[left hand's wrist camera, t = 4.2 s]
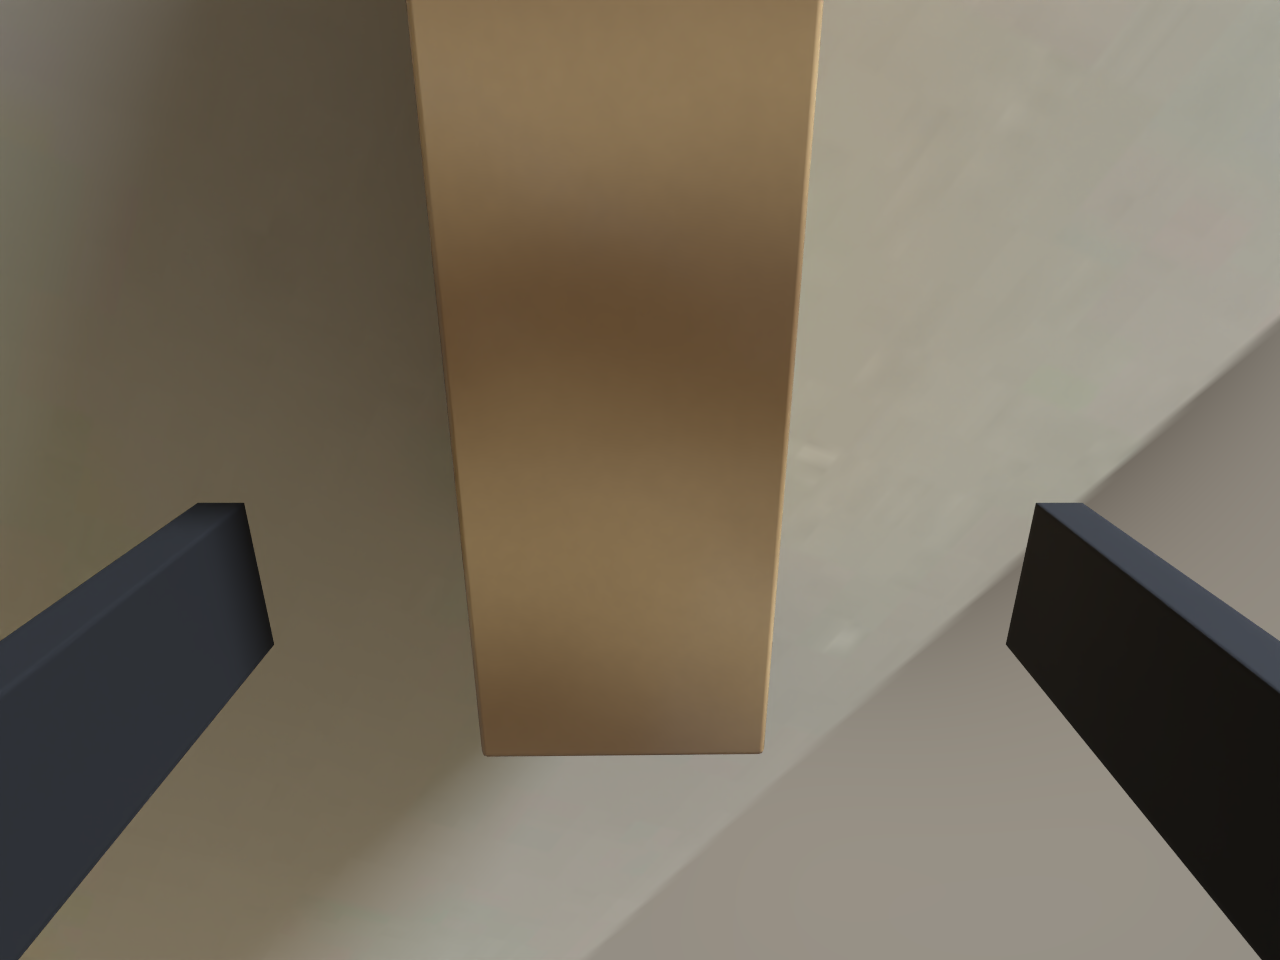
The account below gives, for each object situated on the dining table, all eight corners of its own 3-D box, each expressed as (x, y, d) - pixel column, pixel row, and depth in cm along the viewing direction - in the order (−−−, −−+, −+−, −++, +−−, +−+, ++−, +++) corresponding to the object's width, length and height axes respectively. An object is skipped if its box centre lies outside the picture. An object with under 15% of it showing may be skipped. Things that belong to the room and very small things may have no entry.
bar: (711, 533, 21) (764, 756, 13) (539, 534, 20) (481, 759, 12) (764, -755, 12) (1043, -2693, 4) (465, -759, 12) (122, -2739, 4)
